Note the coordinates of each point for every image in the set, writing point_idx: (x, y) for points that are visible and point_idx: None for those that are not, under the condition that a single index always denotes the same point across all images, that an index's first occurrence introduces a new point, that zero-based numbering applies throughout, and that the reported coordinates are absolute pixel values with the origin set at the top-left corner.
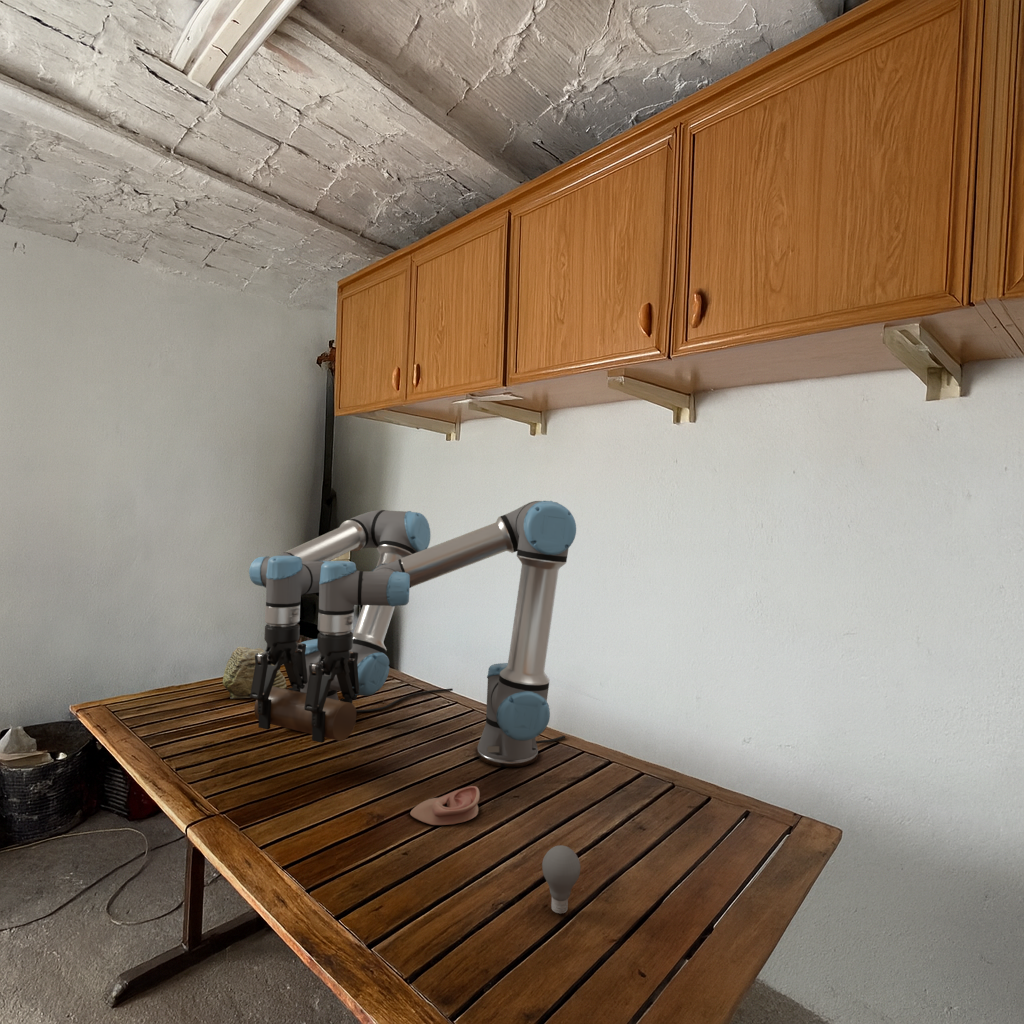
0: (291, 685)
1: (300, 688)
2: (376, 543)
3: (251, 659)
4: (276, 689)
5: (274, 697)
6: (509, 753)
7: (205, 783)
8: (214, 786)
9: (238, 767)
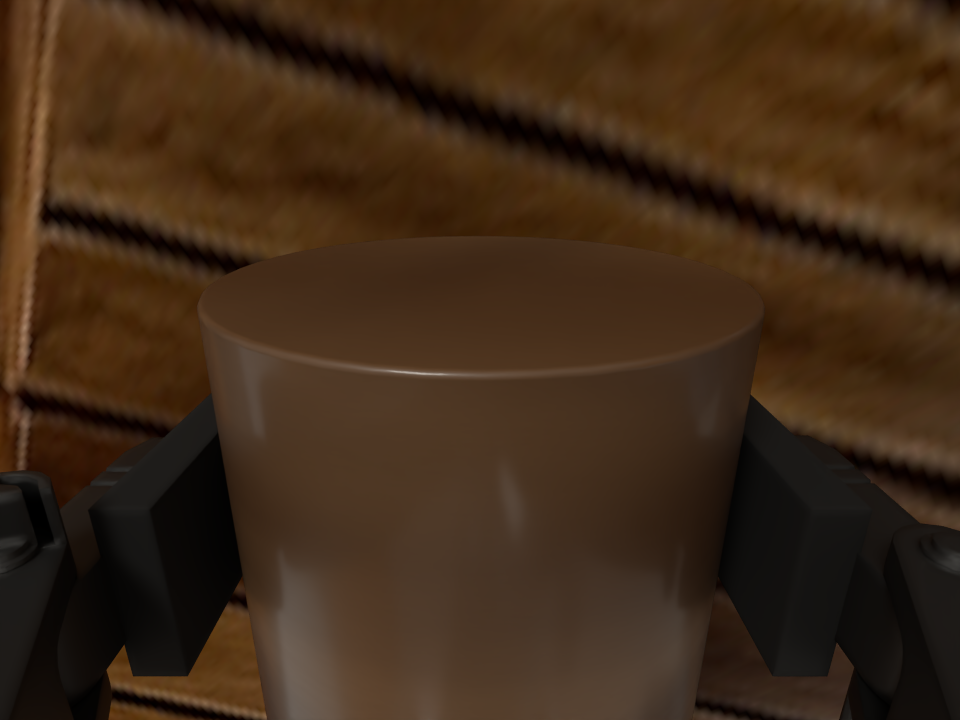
0: (888, 569)
1: (848, 698)
2: None
3: None
4: (434, 624)
5: (281, 658)
6: None
7: (132, 61)
8: (145, 144)
9: (388, 53)
